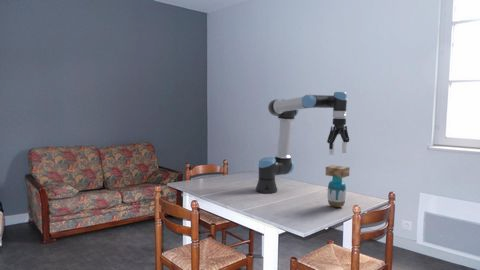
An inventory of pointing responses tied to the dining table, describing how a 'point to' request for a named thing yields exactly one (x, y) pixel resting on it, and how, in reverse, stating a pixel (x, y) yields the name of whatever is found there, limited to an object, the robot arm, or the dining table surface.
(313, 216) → the dining table surface
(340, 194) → the vase
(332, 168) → the brown rectangular block
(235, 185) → the dining table surface
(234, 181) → the dining table surface
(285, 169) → the robot arm
